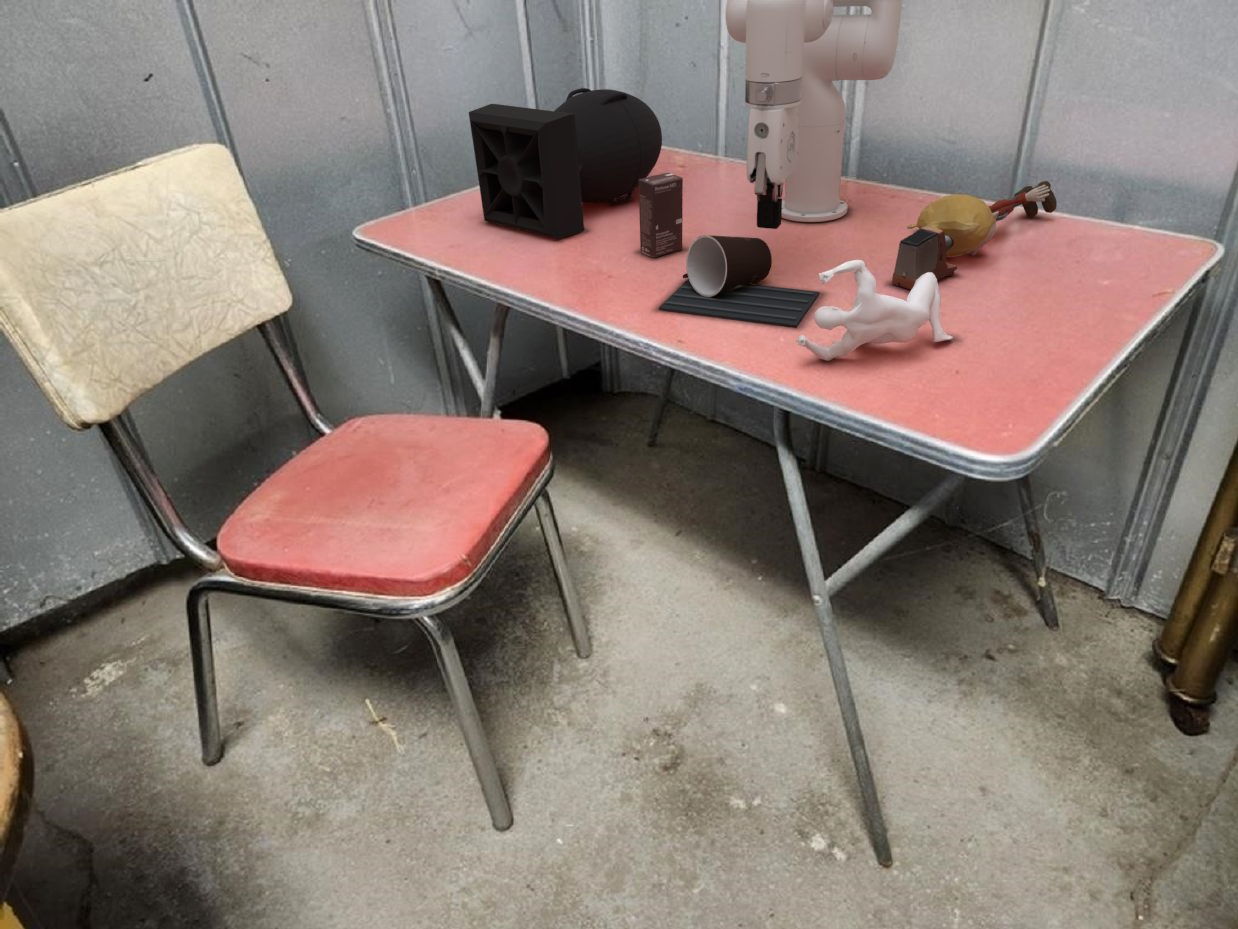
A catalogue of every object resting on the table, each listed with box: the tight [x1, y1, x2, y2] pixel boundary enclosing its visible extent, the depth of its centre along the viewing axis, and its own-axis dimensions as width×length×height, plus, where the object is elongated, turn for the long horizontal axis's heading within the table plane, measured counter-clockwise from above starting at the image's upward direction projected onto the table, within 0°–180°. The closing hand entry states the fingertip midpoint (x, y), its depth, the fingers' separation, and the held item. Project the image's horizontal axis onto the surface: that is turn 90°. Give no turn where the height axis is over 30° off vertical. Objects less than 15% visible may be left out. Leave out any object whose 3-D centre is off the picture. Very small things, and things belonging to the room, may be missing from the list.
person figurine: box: [796, 259, 954, 362], centre depth 106 cm, size 13×13×18 cm
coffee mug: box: [682, 234, 773, 297], centre depth 128 cm, size 12×9×10 cm
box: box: [638, 172, 684, 258], centre depth 141 cm, size 6×4×12 cm
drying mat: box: [658, 278, 820, 328], centre depth 125 cm, size 12×20×1 cm, turn 65°
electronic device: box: [891, 226, 958, 291], centre depth 125 cm, size 4×10×8 cm, turn 127°
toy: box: [906, 180, 1058, 258], centre depth 137 cm, size 22×10×30 cm
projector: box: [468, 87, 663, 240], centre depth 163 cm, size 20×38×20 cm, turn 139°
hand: (768, 226), depth 127 cm, fingers closed
